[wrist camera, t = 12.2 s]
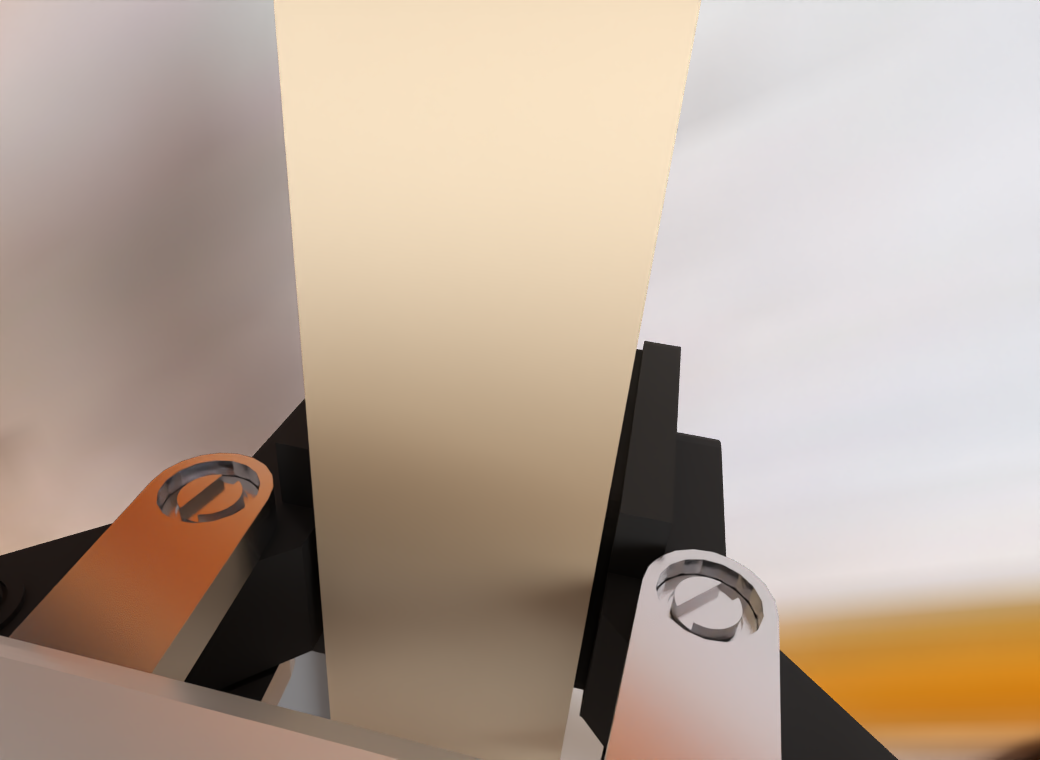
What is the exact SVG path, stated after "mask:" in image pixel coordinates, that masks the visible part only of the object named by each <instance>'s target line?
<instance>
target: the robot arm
mask: <svg viewBox="0 0 1040 760" xmlns="http://www.w3.org/2000/svg"><path fill="white" fill-rule="evenodd" d="M680 356H681V347H678V346H672V345H666V344H660V343H654V342H648V341H644V346H643V350H639V349H636V353H635V359H634V364H633V370H632V375H631V380H630V386H629V391H628V396H627V402H626V407H625V413H624V418H623V423H622V429H621V434H620V439H619V445H618V450H617V456H616V461H615V466H614V472H613V477H612V482H611V488H610V493H609V499H608V504H607V509H606V515H605V520H604V525H603V531H602V536H601V542H600V547H599V552H598V558H597V563H596V568H595V574H594V579H593V585H592V590H591V595H590V601H589V606H588V612H587V617H586V622H585V628H584V633H583V638H582V644H581V649H580V655H579V660H578V665H577V671H576V676H575V681H574V687H573V688H577V689H581V690H583V695H582V702H581V708H580V714H579V716H580V717H582V718H583V720H584V721H585V722H586V724H587V725H588V726H589V728H590V729H591V730H592V732H593V733H594V734H595V736H596V737H597V738H598V740H599V741H600V742H601V744H602V745H603V749H602V754H601V758H600V760H898V759H897V758H896V757H895V756H894V755H892V754H891V753H890V752H889V751H888V750H887V749H886V748H885V747H884V746H883V745H882V744H881V743H880V742H878V741H877V740H876V739H875V738H874V737H873V736H872V735H871V734H870V733H869V732H868V731H867V730H866V729H864V728H863V727H862V726H861V725H860V724H859V723H858V722H857V721H856V720H855V719H854V718H853V717H852V716H850V715H849V714H848V713H847V712H846V711H845V710H844V709H843V708H842V707H841V706H840V705H839V704H838V703H836V702H835V701H834V700H833V699H832V698H831V697H830V696H829V695H828V694H827V693H826V692H825V691H824V690H822V689H821V688H820V687H819V686H818V685H817V684H816V683H815V682H814V681H813V680H812V679H811V678H809V677H808V676H807V675H806V674H805V673H804V672H803V671H802V670H801V669H800V668H799V667H798V666H797V665H795V664H794V663H793V662H792V661H791V660H790V659H789V658H788V657H787V656H786V655H785V654H784V653H783V652H781V651H780V650H779V615H778V611H777V606H776V602H775V599H774V598H773V596H772V594H771V593H770V591H769V589H768V588H767V586H766V584H764V583H763V582H762V581H761V580H760V579H759V578H758V577H757V576H756V575H755V574H754V573H753V572H752V571H751V570H749V569H748V568H746V567H744V566H743V565H741V564H740V563H738V562H736V561H735V560H733V559H730V558H728V557H726V545H725V522H724V499H723V476H722V452H721V442H720V441H719V440H716V439H711V438H705V437H700V436H695V435H689V434H684V433H678V432H677V417H678V397H679V376H680ZM310 651H314V652H318V653H322V654H325V642H324V629H323V616H322V604H321V591H320V579H319V566H318V553H317V541H316V528H315V516H314V503H313V490H312V478H311V465H310V453H309V440H308V427H307V415H306V402H305V399H304V400H303V401H302V402H301V403H300V405H299V406H298V407H297V408H296V409H295V410H294V411H293V412H292V413H291V415H290V416H289V417H288V418H287V419H286V420H285V421H284V422H283V423H282V424H281V426H280V427H279V428H278V429H277V430H276V431H275V432H274V433H273V434H272V436H271V437H270V438H269V439H268V440H267V441H266V442H265V443H264V444H263V446H262V447H261V448H260V449H259V450H258V451H257V452H256V453H255V454H254V456H253V457H248V456H244V455H241V454H232V453H215V454H208V455H200V456H197V457H194V458H190V459H187V460H184V461H181V462H179V463H177V464H175V465H173V466H171V467H169V468H167V469H166V470H164V471H163V472H162V473H160V474H159V475H158V476H157V477H156V478H154V479H153V480H152V481H151V482H150V483H149V484H148V485H147V486H146V487H145V489H144V490H143V491H142V492H141V493H140V494H139V495H138V496H137V497H136V498H135V500H134V501H133V502H132V503H131V504H130V505H129V506H128V507H127V508H126V509H125V510H124V512H123V513H122V514H121V515H120V516H119V517H118V518H117V519H116V520H115V521H114V522H113V523H112V524H109V525H105V526H102V527H98V528H95V529H91V530H88V531H84V532H81V533H77V534H74V535H70V536H67V537H63V538H60V539H56V540H53V541H50V542H46V543H43V544H39V545H36V546H32V547H29V548H25V549H22V550H18V551H15V552H11V553H8V554H4V555H1V556H0V760H483V759H480V758H476V757H472V756H468V755H465V754H461V753H457V752H453V751H449V750H446V749H442V748H438V747H434V746H430V745H426V744H422V743H419V742H415V741H411V740H407V739H403V738H399V737H395V736H392V735H388V734H384V733H380V732H376V731H372V730H368V729H365V728H361V727H357V726H353V725H349V724H345V723H341V722H338V721H334V720H330V719H326V718H322V717H318V716H314V715H311V714H307V713H303V712H299V711H295V710H291V709H287V708H283V707H280V706H277V705H278V703H279V701H280V699H281V697H282V695H283V693H284V691H285V689H286V686H287V684H288V682H289V680H290V678H291V676H292V672H293V669H294V665H295V658H296V657H298V656H301V655H303V654H305V653H308V652H310ZM1039 760H1040V759H1039Z"/></svg>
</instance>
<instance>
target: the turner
mask: <svg viewBox="0 0 1040 760" xmlns="http://www.w3.org/2000/svg"><path fill="white" fill-rule="evenodd" d="M700 4H701V0H274V12H275V24H276V37H277V49H278V62H279V75H280V87H281V100H282V112H283V125H284V138H285V150H286V163H287V175H288V188H289V201H290V213H291V226H292V238H293V251H294V264H295V276H296V289H297V301H298V314H299V327H300V339H301V352H302V364H303V377H304V390H305V402H306V415H307V427H308V440H309V453H310V465H311V478H312V490H313V503H314V516H315V528H316V541H317V553H318V566H319V579H320V591H321V604H322V616H323V629H324V642H325V654H326V667H327V679H328V692H329V705H330V717H331V720H334V721H338V722H341V723H345V724H349V725H353V726H357V727H361V728H365V729H368V730H372V731H376V732H380V733H384V734H388V735H392V736H395V737H399V738H403V739H407V740H411V741H415V742H419V743H422V744H426V745H430V746H434V747H438V748H442V749H446V750H449V751H453V752H457V753H461V754H465V755H468V756H472V757H476V758H480V759H483V760H600V758H601V754H602V749H603V745H602V744H601V742H600V741H599V740H598V738H597V737H596V736H595V734H594V733H593V732H592V730H591V729H590V728H589V726H588V725H587V724H586V722H585V721H584V720H583V718H582V717H580V716H579V714H580V708H581V702H582V695H583V690H581V689H577V688H573V687H574V681H575V676H576V671H577V665H578V660H579V655H580V649H581V644H582V638H583V633H584V628H585V622H586V617H587V612H588V606H589V601H590V595H591V590H592V585H593V579H594V574H595V568H596V563H597V558H598V552H599V547H600V542H601V536H602V531H603V525H604V520H605V515H606V509H607V504H608V499H609V493H610V488H611V482H612V477H613V472H614V466H615V461H616V456H617V450H618V445H619V439H620V434H621V429H622V423H623V418H624V413H625V407H626V402H627V396H628V391H629V386H630V380H631V375H632V370H633V364H634V359H635V353H636V348H637V343H638V337H639V332H640V326H641V321H642V316H643V310H644V305H645V300H646V294H647V289H648V283H649V278H650V273H651V267H652V262H653V257H654V251H655V246H656V240H657V235H658V230H659V224H660V219H661V214H662V208H663V203H664V197H665V192H666V187H667V181H668V176H669V171H670V165H671V160H672V154H673V149H674V144H675V138H676V133H677V128H678V122H679V117H680V111H681V106H682V101H683V95H684V90H685V84H686V79H687V74H688V68H689V63H690V58H691V52H692V47H693V41H694V36H695V31H696V25H697V20H698V15H699V9H700Z"/></svg>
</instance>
